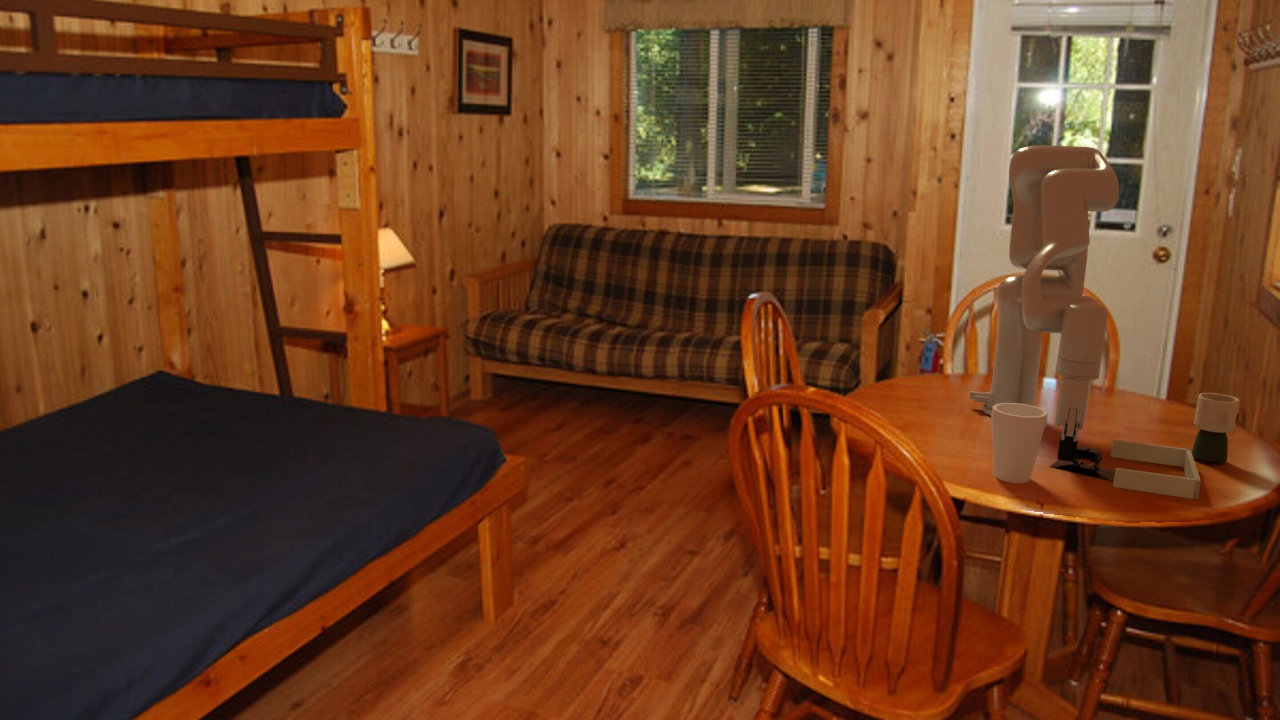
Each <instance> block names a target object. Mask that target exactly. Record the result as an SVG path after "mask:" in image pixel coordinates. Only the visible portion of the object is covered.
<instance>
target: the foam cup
mask: <svg viewBox="0 0 1280 720" xmlns="http://www.w3.org/2000/svg"><path fill="white" fill-rule="evenodd" d="M1048 416H1049V414H1048V412H1047V410H1046V409H1043V408H1041V407H1038V406H1036V405H1035V406H1031V405H1026V404H1018V403H1000V404H996V405H994V406H992V415H991V417H990V419H991V422H992V424H991V425H992V426H991V427H992V461H993V476H994V478H996V479H998V480H1000V481H1002V482H1005V483H1012V484H1025V483H1029V482H1030V480H1031V477H1032V474H1033V471H1034V467H1035V463H1036V460H1037V456H1038V453H1039V450H1040V446H1041V441H1042V438H1043V434H1044V430H1045V428H1046V427H1047V422H1048Z"/></svg>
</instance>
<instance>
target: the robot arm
mask: <svg viewBox="0 0 1280 720" xmlns="http://www.w3.org/2000/svg"><path fill="white" fill-rule="evenodd" d="M1009 164H1010V165H1009V171H1008V177H1009V179H1008V180H1009V185H1010V191H1011V195H1012V201H1013V203H1012V204H1013V207H1012V208H1013V210H1012V211H1013V213H1012V219H1011V230H1010V238H1009V250H1008V251H1009V252H1008V253H1009V254H1008V257H1009V262H1010V264H1011V265H1013V266H1014V267H1015V268H1018V269H1025V271H1024V273H1023V275H1022V274H1021V275H1020V274H1018V275H1013V276H1009V277H1006V278H1004V279H1003V280H1002V281H1001V282H1000V283H999V285H998V289H997V293H996V294H997V299H996V300H997V333H996V334H997V335H996V344H995V353H994V363H993V371H992V381H991V388H990V389H989V391H984V392H980V391H977V390H976V391H975V390H970V392H969V400H974V402H979V403H980V402H981V403H982V406H981V411H982V412H983V413H984V414H986V415H987V416H991V415H992V406H994V405H996V404H1000V403H1018V404H1026V405H1031V406H1035V407H1036V405H1035V404H1036V396H1037V388H1038V382H1039V381H1038V379H1039V373H1040V365H1041V364H1040V363H1041V355H1042V347H1043V339H1042V338H1043V337H1042V334H1043V333H1044V334H1060V339H1059V347H1058V348H1059V349H1058V355H1057V356H1058V357H1057V363H1056V370H1055V373H1056V375H1058V376H1060V377H1061V378H1060V381H1059V382H1060V383H1059V387H1058V389H1059V390H1058V397H1057V402H1056V403H1057V404H1056V412H1055V420H1054V426H1055V428H1059V427H1062V429H1061V430H1062V431H1061V437H1060V438H1059V442H1058V451H1057V456H1056V457H1057V461H1058V460H1063V461H1070V462H1074V458H1073V456H1074V454H1075V452H1076V451H1077V448H1078V443H1079V442H1078V441H1079V440H1078V433H1079V431H1080V430H1083V426H1084V423H1085V421H1086V415H1087V411H1088V406H1089V400H1090V393H1091V386H1092V381H1095V380H1098V379H1100V374H1101V366H1102V358H1103V357H1102V356H1103V353H1104V352H1103V350H1104V344H1105V336H1106V331H1107V330H1106V329H1107V323H1108V313H1109V312H1108V310H1107V308H1106V307H1105V306H1104V305H1102V304H1100V303H1099V302H1098V301H1097V300H1096V299H1095V298H1094V297H1091V296H1087V295H1083V294H1084V287H1085V278H1086V269H1087V263H1088V254H1089V253H1088V251H1089V250H1088V249H1089V248H1088V247H1089V245H1090V241H1091V240H1090V239H1091V238H1090V226H1089V223H1090V222H1089V212H1097V213H1101V212H1102V213H1105V212H1106V213H1107V212H1110V211H1112V209H1114V208H1115V206H1116V205H1117V202H1118V201H1119V196H1120V195H1119V194H1120V188H1119V187H1120V186H1119V181H1118V177H1117V175H1116V172H1115V171H1114V169H1113V167H1112V166H1111V164H1110V163H1109V161H1108V160H1107V159H1106V158H1105V156H1104V155H1103V154H1102V153H1101V151H1100V150H1098V149H1097V148H1095V147H1090V146H1074V145H1073V146H1067V145H1066V146H1065V145H1048V144H1047V145H1041V144H1040V145H1039V144H1038V145H1029V146H1028V145H1027V146H1025V147H1021V148H1019V149H1018V150H1016V151H1015V152H1014V153H1013V155H1012V157H1011V160H1010V163H1009ZM1044 271H1057V272H1058V276H1052V275H1050V276H1049V275H1048V276H1047V275H1043V272H1044Z"/></svg>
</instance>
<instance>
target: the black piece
mask: <svg viewBox="0 0 1280 720" xmlns="http://www.w3.org/2000/svg"><path fill="white" fill-rule="evenodd" d="M1101 452H1102V450H1101V449H1100V448H1096V447H1090V446H1086V445H1080V446H1079V447H1077V451H1076V452H1075V454H1074V456H1073V458H1074V462H1070V461H1063V460H1058V459H1057V460H1056V461H1055V462H1054V463H1052V464H1051V465H1050V466H1049V468H1052V469H1054V470H1060V471H1064V472H1068V473H1072V474H1076V475H1082V476H1084V477H1085V476H1086V477H1089V478H1095V479H1099V480H1102V481H1106V482H1107V481H1108V482H1110V483H1113V482H1114V475H1115V470H1112V469H1109V468H1108V469H1107V468H1104V467H1103V468H1102V467H1101V465H1102V464H1101V463H1102V461H1103V458H1102V457H1103V454H1101ZM1080 460H1083V461H1080ZM1084 461H1087V462H1090V463H1093V464H1090V463H1086V462H1084Z"/></svg>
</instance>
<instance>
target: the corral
mask: <svg viewBox="0 0 1280 720" xmlns="http://www.w3.org/2000/svg"><path fill="white" fill-rule="evenodd" d="M1110 451H1111V452H1110V458H1115V459H1116V458H1117V459H1123V460H1124V459H1125V460H1129V461H1138V462H1145V463H1151V464H1152V463H1153V464H1159V465H1167V466H1174V467H1179V468H1180V467H1181V468H1183V470H1184V475H1185V476H1178V475H1171V474H1170V475H1169V474H1162V473H1157V472H1150V471H1142V470H1137V469H1129V468H1121V467H1115V470H1114V471H1115V475H1114V482H1112V483H1113V484H1112V487H1113V488H1117V489H1124V490H1132V491H1138V492H1143V493H1151V494H1158V495H1164V496H1170V497H1171V496H1172V497H1179V498H1184V499H1191V500H1199V494H1200V490H1201V489H1200V487H1201V483H1202V482H1201V477H1200V475H1199V471H1198V468H1197V466H1196V463H1195V458H1194V457H1193V456H1192V450H1191V449H1190V448H1183V447H1175V446H1169V445H1168V446H1167V445H1160V444H1152V443H1146V442H1137V441H1132V440H1131V441H1130V440H1124V439H1116V438H1113V439H1112V444H1111V450H1110Z"/></svg>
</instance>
